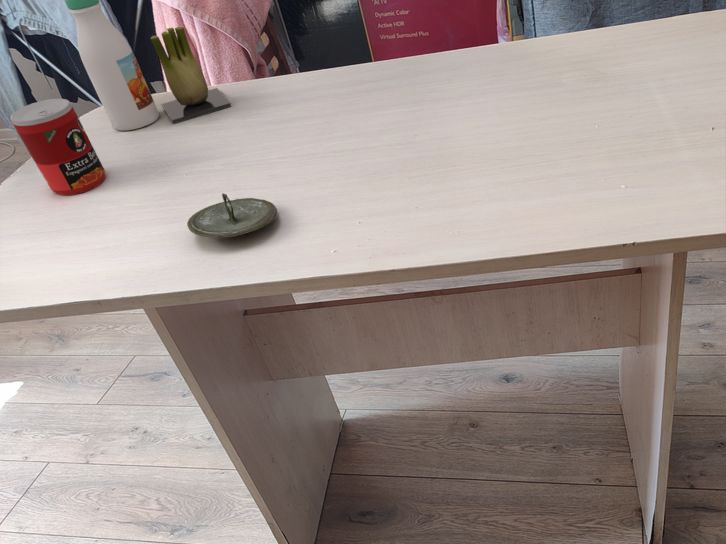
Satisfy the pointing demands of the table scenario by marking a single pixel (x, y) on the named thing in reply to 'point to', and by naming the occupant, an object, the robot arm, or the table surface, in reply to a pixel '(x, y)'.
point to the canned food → (59, 146)
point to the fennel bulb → (181, 67)
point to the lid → (232, 217)
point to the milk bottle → (112, 68)
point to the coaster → (196, 107)
